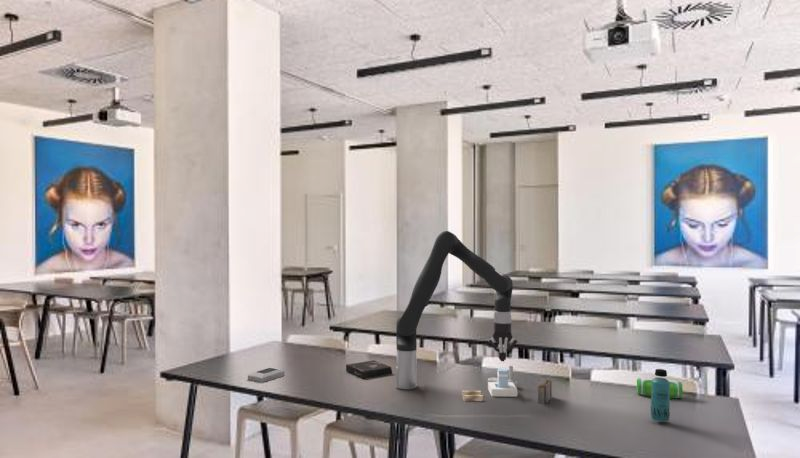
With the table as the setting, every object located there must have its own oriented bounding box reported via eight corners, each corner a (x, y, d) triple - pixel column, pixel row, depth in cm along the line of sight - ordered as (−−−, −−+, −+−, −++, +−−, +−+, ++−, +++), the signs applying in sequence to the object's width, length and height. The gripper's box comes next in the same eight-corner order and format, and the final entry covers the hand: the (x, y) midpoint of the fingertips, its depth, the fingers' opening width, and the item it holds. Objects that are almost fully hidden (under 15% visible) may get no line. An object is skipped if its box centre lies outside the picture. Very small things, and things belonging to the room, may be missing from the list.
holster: (463, 403, 234) (463, 396, 234) (461, 397, 242) (461, 390, 242) (482, 403, 234) (482, 396, 234) (480, 397, 242) (480, 390, 242)
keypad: (247, 372, 268) (270, 366, 281) (247, 380, 268) (270, 373, 281) (262, 375, 263) (284, 368, 276) (262, 383, 263) (284, 376, 276)
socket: (491, 398, 240) (491, 389, 240) (487, 390, 251) (488, 382, 251) (517, 398, 240) (517, 389, 240) (512, 391, 251) (512, 382, 251)
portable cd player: (392, 374, 280) (392, 366, 280) (362, 380, 270) (362, 371, 270) (374, 367, 293) (374, 360, 293) (346, 372, 284) (346, 364, 284)
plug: (498, 393, 243) (498, 370, 243) (497, 391, 248) (497, 368, 247) (508, 393, 243) (508, 370, 243) (506, 391, 247) (506, 368, 247)
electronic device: (491, 361, 267) (519, 366, 257) (492, 382, 267) (519, 387, 257) (485, 363, 263) (512, 368, 253) (485, 384, 263) (513, 390, 253)
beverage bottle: (647, 419, 214) (647, 367, 214) (664, 419, 215) (664, 367, 215) (656, 425, 208) (656, 372, 208) (673, 425, 209) (674, 371, 208)
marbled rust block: (545, 405, 232) (545, 382, 232) (538, 404, 234) (538, 381, 234) (552, 398, 242) (552, 375, 242) (545, 397, 244) (545, 374, 244)
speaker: (680, 396, 245) (680, 378, 245) (682, 401, 238) (682, 383, 238) (636, 392, 250) (636, 375, 250) (637, 397, 243) (638, 379, 243)
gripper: (488, 322, 242) (488, 362, 242) (519, 322, 241) (519, 363, 241) (486, 319, 249) (486, 358, 249) (516, 319, 249) (515, 358, 249)
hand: (502, 360), depth 245 cm, fingers closed
